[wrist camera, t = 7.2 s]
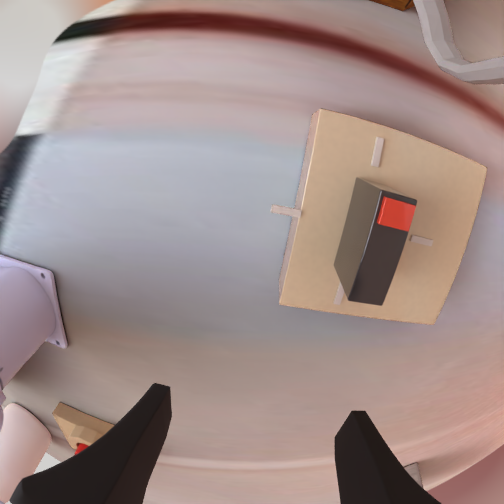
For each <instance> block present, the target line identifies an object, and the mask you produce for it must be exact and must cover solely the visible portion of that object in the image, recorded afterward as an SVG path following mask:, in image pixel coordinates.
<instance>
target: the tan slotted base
mask: <svg viewBox="0 0 504 504" xmlns="http://www.w3.org/2000/svg"><path fill="white" fill-rule="evenodd" d="M486 172H487V167H485V166H483V165H481V164H479V163H477V162H475V161H473V160H471V159H469V158H466V157H464V156H462V155H460V154H458V153H455V152H453V151H451V150H448V149H446V148H444V147H441V146H439V145H436V144H434V143H431V142H429V141H426V140H424V139H421V138H418V137H416V136H413V135H410V134H408V133H405V132H402V131H399V130H396V129H393V128H390V127H387V126H384V125H381V124H377V123H374V122H371V121H367V120H364V119H361V118H357V117H353V116H350V115H346V114H342V113H338V112H334V111H330V110H326V109H322V108H321V109H319V110H318V111H316V112H315V113H313V114H312V118H311V123H310V129H309V134H308V140H307V145H306V151H305V156H304V161H303V166H302V172H301V177H300V182H299V187H298V192H297V197H296V202H295V207H294V208H289V207H284V206H279V205H273V204H272V207H271V212H272V213H277V214H282V215H288V216H292V221H291V226H290V231H289V235H288V240H287V245H286V249H285V254H284V259H283V263H282V268H281V272H280V277H279V304H280V305H286V306H292V307H298V308H304V309H311V310H317V311H324V312H331V313H338V314H345V315H352V316H360V317H368V318H375V319H383V320H392V321H401V322H410V323H419V324H429V325H434V323H435V321H436V319H437V317H438V315H439V313H440V311H441V309H442V306H443V304H444V302H445V300H446V298H447V295H448V293H449V291H450V288H451V286H452V283H453V281H454V278H455V276H456V273H457V271H458V268H459V266H460V263H461V260H462V257H463V255H464V252H465V249H466V246H467V243H468V240H469V237H470V234H471V231H472V227H473V224H474V221H475V217H476V214H477V210H478V206H479V202H480V198H481V194H482V190H483V186H484V181H485V177H486ZM356 177H359V178H363V179H366V180H370V181H374V182H377V183H381V184H385V185H387V186H389V187H391V188H394V189H396V190H398V191H400V192H402V193H404V194H406V195H408V196H410V197H412V198H414V199H416V200H417V205H416V209H415V212H414V216H413V219H412V223H411V226H410V229H409V233H408V236H407V239H406V242H405V245H404V248H403V251H402V254H401V257H400V260H399V263H398V266H397V269H396V271H395V274H394V277H393V280H392V282H391V285H390V287H389V290H388V293H387V295H386V298H385V300H384V303H383V305H382V306H379V305H372V304H365V303H359V302H352V301H348V300H347V297H346V295H345V292H344V290H343V287H342V285H341V282H340V280H339V277H338V275H337V273H336V270H335V268H334V261H335V258H336V254H337V251H338V247H339V244H340V240H341V236H342V233H343V229H344V225H345V221H346V217H347V213H348V209H349V205H350V201H351V197H352V193H353V189H354V185H355V180H356Z"/></svg>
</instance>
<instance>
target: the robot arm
mask: <svg viewBox="0 0 504 504" xmlns="http://www.w3.org/2000/svg"><path fill="white" fill-rule="evenodd" d="M45 341H47V342H49V343H52V344H54V345H56V346H59V347H61V348H64V349H65V348H66V347H67V346H68V343H67V340H66V335H65V331H64V327H63V323H62V318H61V313H60V308H59V303H58V298H57V292H56V286H55V280H54V275H53V273H52V272H51V271H50V270H47V269H44V268H41V267H37V266H34V265H31V264H28V263H25V262H22V261H19V260H16V259H13V258H10V257H7V256H4V255H1V254H0V432H1V429H2V425H3V420H4V414H3V409H2V407H1V405H2V403H3V402H4V401H5V399H6V397H5V395H4V393H3V392H2V390H3V389H4V387H5V386H6V385H7V384H8V383H9V381H10V380H11V379H12V378H13V377H14V375H15V374H16V373H17V372H18V371H19V370H20V368H21V367H22V366H23V365H24V364H25V363H26V362H27V360H28V359H29V358H30V357H31V356H32V355H33V354H34V353H35V352H36V350H37V349H38V348H39V347H40V346H41V345H42V344H43V343H44V342H45ZM171 417H172V411H171V394H170V387H169V386H165V385H161V384H157V383H154V384H152V386H151V387H150V388H149V390H148V391H147V392H146V393H145V394H144V396H143V397H142V398H141V399H140V400H139V401H138V402H137V404H136V405H135V406H134V407H133V408H132V409H131V410H130V411H129V412H128V413H127V414H126V415H125V416H124V417H123V418H122V419H121V420H120V421H119V422H118V423H117V424H116V425H115V426H113V427H112V428H111V429H110V430H109V431H108V432H107V433H105V434H104V435H103V436H102V437H100V438H99V439H98V440H97V441H95V442H94V443H93V444H91V445H90V446H88V447H87V448H85V449H84V450H82V451H81V452H79V453H78V454H76V455H74V456H73V457H71V458H69V459H67V460H66V461H64V462H62V463H59V464H57V465H55V466H53V467H51V468H49V469H47V470H44V471H42V472H39V473H36V474H33V475H30V476H27V477H24V478H22V480H21V481H20V482H19V484H18V485H17V486H16V488H15V490H14V492H13V494H12V496H11V498H10V502H11V503H12V504H142V503H143V499H144V495H145V491H146V488H147V485H148V482H149V479H150V476H151V474H152V471H153V469H154V466H155V464H156V461H157V459H158V456H159V454H160V451H161V449H162V446H163V444H164V441H165V439H166V436H167V432H168V429H169V425H170V421H171ZM335 463H336V471H337V478H338V485H339V493H340V501H341V504H441V503H440V502H438V501H437V500H436V499H434V498H433V497H432V496H431V495H430V494H428V492H426V491H425V490H424V489H423V488H422V487H421V486H420V485H419V484H418V483H417V482H416V481H415V480H414V479H413V478H412V477H411V476H410V475H409V473H408V472H407V471H406V470H405V469H404V467H403V466H402V465H401V464H400V462H399V461H398V460H397V458H396V457H395V456H394V454H393V453H392V451H391V450H390V448H389V447H388V445H387V444H386V443H385V441H384V440H383V438H382V436H381V435H380V433H379V432H378V430H377V429H376V427H375V425H374V424H373V422H372V421H371V419H370V418H369V416H368V414H367V413H366V411H351V413H350V414H349V416H348V418H347V419H346V421H345V422H344V424H343V425H342V427H341V429H340V430H339V432H338V433H337V435H336V436H335ZM0 504H5V503H3V502H2V501H0Z"/></svg>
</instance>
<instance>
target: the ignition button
mask: <svg viewBox="0 0 504 504" xmlns="http://www.w3.org/2000/svg"><path fill="white" fill-rule="evenodd" d="M87 447H88V445H86V444H83V443H80V444H79V446H78V448H77V450H76V452H75V455H76V454H78V453H79V452H81V451H82V450H84V449H85V448H87Z"/></svg>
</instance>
